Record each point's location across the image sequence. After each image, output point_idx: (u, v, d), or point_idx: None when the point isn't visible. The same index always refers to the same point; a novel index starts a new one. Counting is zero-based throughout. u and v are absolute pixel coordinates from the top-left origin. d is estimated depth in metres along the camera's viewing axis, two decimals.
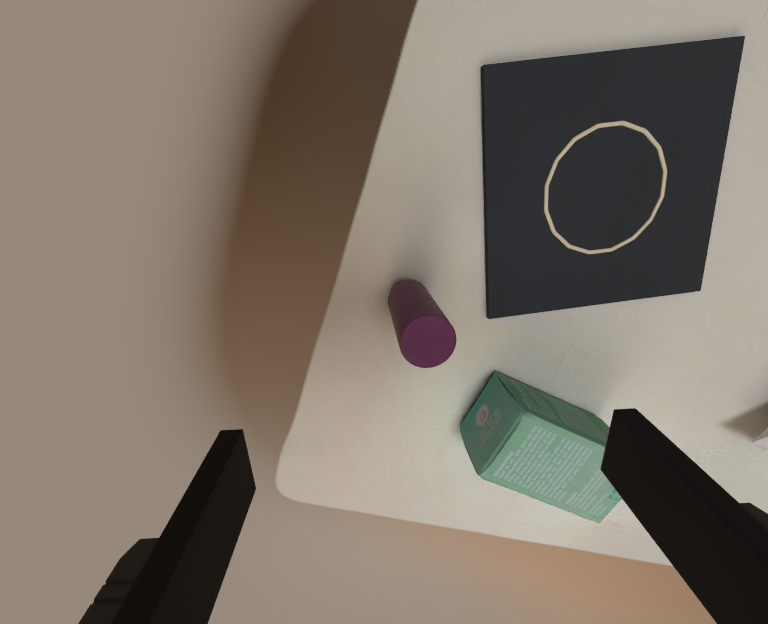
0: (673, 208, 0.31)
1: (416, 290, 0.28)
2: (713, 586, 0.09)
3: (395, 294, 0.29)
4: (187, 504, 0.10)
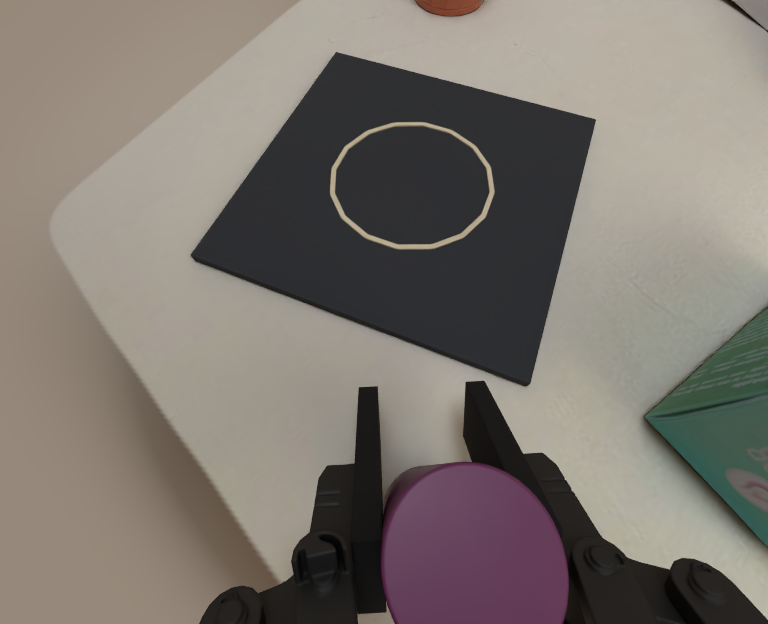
0: (471, 125, 0.25)
1: (390, 491, 0.13)
2: None
3: None
4: (363, 438, 0.12)
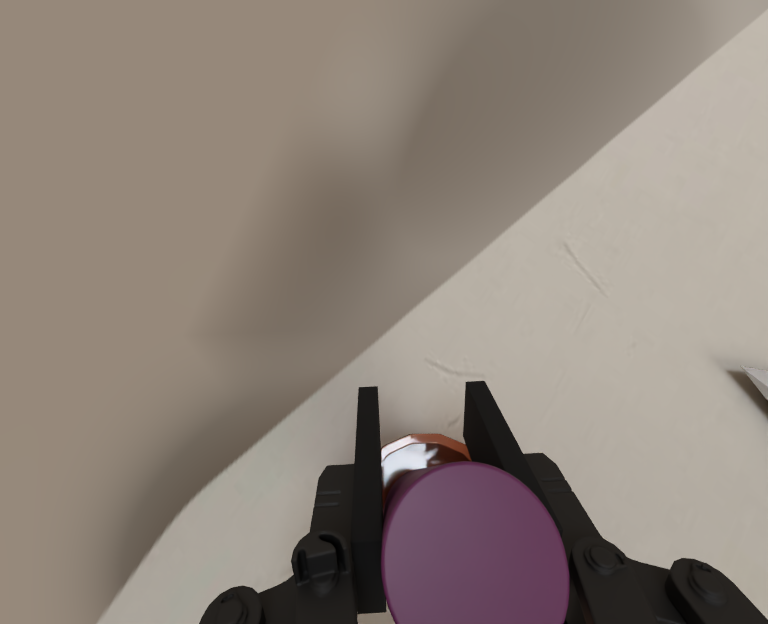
0: None
1: (390, 493, 0.13)
2: None
3: None
4: (363, 438, 0.12)
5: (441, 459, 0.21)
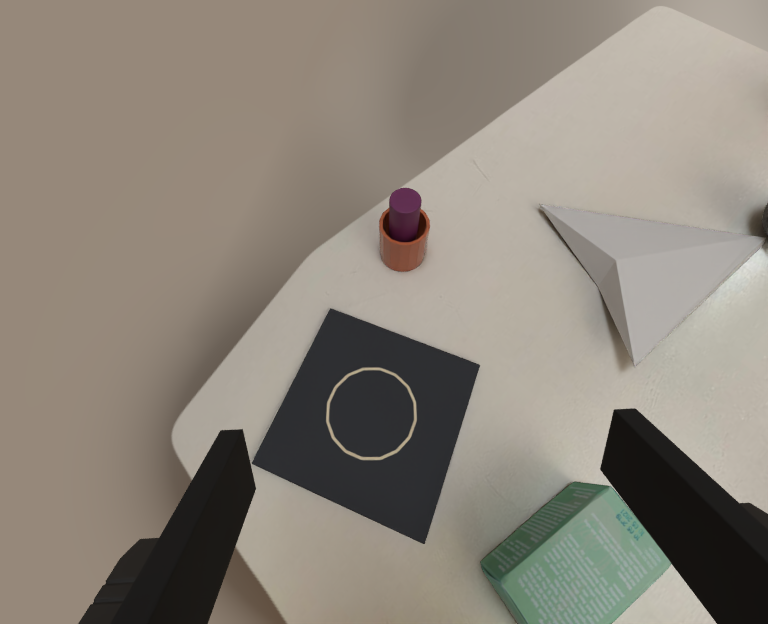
0: (408, 369, 0.44)
1: None
2: (713, 586, 0.09)
3: None
4: (187, 504, 0.10)
5: None
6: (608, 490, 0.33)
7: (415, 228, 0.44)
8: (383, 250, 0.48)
